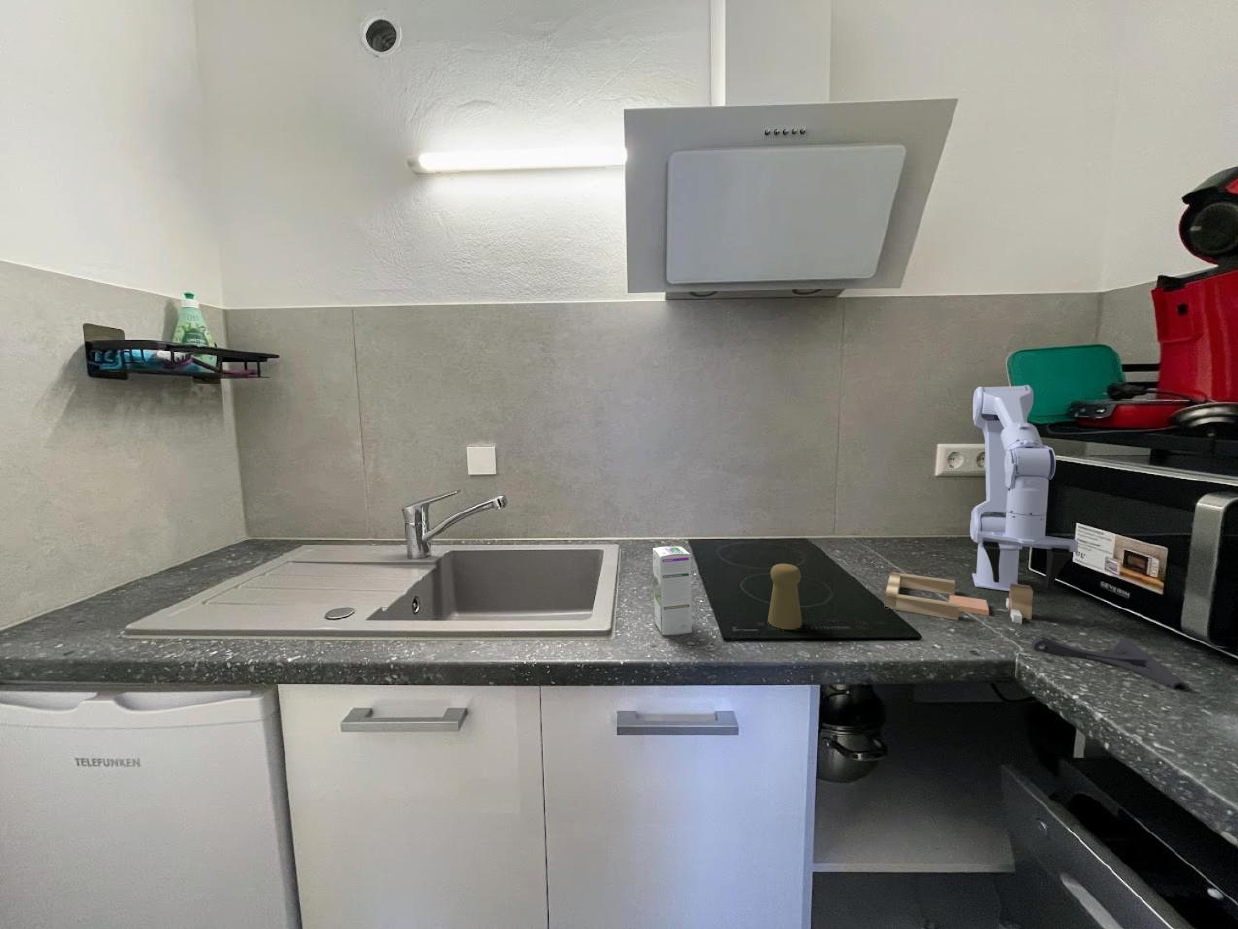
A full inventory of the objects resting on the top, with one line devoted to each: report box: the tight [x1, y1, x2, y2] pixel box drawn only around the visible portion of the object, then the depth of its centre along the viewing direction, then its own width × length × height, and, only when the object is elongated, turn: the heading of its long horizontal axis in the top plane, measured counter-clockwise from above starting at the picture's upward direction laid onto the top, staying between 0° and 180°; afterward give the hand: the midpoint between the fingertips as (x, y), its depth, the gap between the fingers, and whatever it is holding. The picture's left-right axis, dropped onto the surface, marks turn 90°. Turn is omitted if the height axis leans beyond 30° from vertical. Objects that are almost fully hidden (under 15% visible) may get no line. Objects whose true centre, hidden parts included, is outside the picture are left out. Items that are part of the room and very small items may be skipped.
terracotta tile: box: [949, 594, 990, 616], centre depth 97 cm, size 6×6×2 cm
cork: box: [767, 563, 803, 629], centre depth 90 cm, size 6×6×11 cm
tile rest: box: [884, 571, 960, 621], centre depth 101 cm, size 17×12×2 cm
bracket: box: [1031, 636, 1190, 692], centre depth 76 cm, size 14×15×3 cm
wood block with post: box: [1005, 583, 1034, 625], centre depth 93 cm, size 10×3×6 cm, turn 148°
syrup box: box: [652, 545, 693, 636], centre depth 89 cm, size 6×6×14 cm
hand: (1021, 584), depth 92 cm, fingers open, 7 cm apart
